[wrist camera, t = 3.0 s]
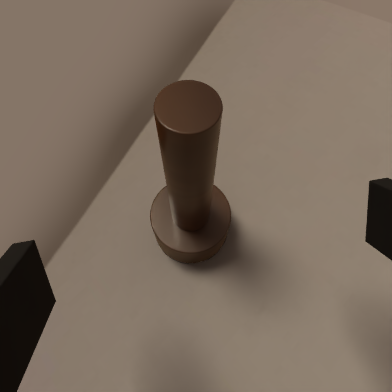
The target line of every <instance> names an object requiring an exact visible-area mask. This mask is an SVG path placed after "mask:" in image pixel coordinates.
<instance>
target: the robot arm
mask: <svg viewBox="0 0 392 392" xmlns="http://www.w3.org/2000/svg"><path fill="white" fill-rule="evenodd" d="M365 241H366V242H367V243H369V244H370V245H371V246H373V247H374V248H375V249H377V250H378V251H379V252H381V253H382V254H384V255H385V256H386V257H388V258H389V259H390V260H392V179H389V178H383V179H377V180H372V181H369V195H368V210H367V225H366V240H365ZM55 302H56V300H55V297H54V294H53V292H52V289H51V286H50V283H49V280H48V277H47V275H46V272H45V269H44V266H43V263H42V260H41V258H40V255H39V252H38V249H37V246H36V243H35V241H34V240H31V241H26V242H21V243H14V244H12V245H11V246H10V248H9V249H8V250H7V251H6V253H5V254H4V255H3V256H2V257H1V258H0V392H17V390H18V387H19V385H20V383H21V381H22V378H23V376H24V374H25V371H26V369H27V367H28V364H29V362H30V360H31V357H32V355H33V353H34V350H35V348H36V346H37V343H38V341H39V339H40V336H41V334H42V332H43V329H44V327H45V325H46V322H47V320H48V318H49V315H50V313H51V311H52V309H53V306H54V304H55Z"/></svg>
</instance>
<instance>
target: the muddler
mask: <svg viewBox="0 0 392 392" xmlns="http://www.w3.org/2000/svg"><path fill="white" fill-rule="evenodd" d="M222 111H223V105H222V101H221V98H220V96H219V95H218V93H217V92H216V91H215V90H214V89H213V88H212V87H210V86H209V85H207V84H205V83H202V82H199V81H194V80H182V81H177V82H174V83H172V84H170V85H168V86H166V87H165V88H163V89H162V90H161V92H160V93H159V94H158V95H157V97H156V99H155V102H154V115H155V121H156V127H157V132H158V138H159V144H160V150H161V156H162V161H163V167H164V173H165V179H166V184H167V186H165V187H164V188H163V189H162V190H161V191H160V192H159V193H158V195H157V196H156V197H155V199H154V201H153V204H152V207H151V212H150V220H151V225H152V228H153V231H154V234H155V237H156V239H157V242H158V244H159V246H160V248H161V249H162V250H163V251H164V252H165V253H166V254H167V255H168V256H169V257H171V258H172V259H174V260H177V261H179V262H183V263H199V262H202V261H205V260H207V259H209V258H211V257H212V256H214V255H215V254H216V253H217V252H218V251H219V250H220V249H221V247H222V246H223V244H224V242H225V239H226V236H227V233H228V230H229V226H230V222H231V210H230V206H229V203H228V200H227V198H226V197H225V195H224V194H223V193H222V192H221V190H220V189H218V188H217V187H216V186H215V185H213V183H214V175H215V167H216V159H217V151H218V143H219V135H220V127H221V119H222Z"/></svg>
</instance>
